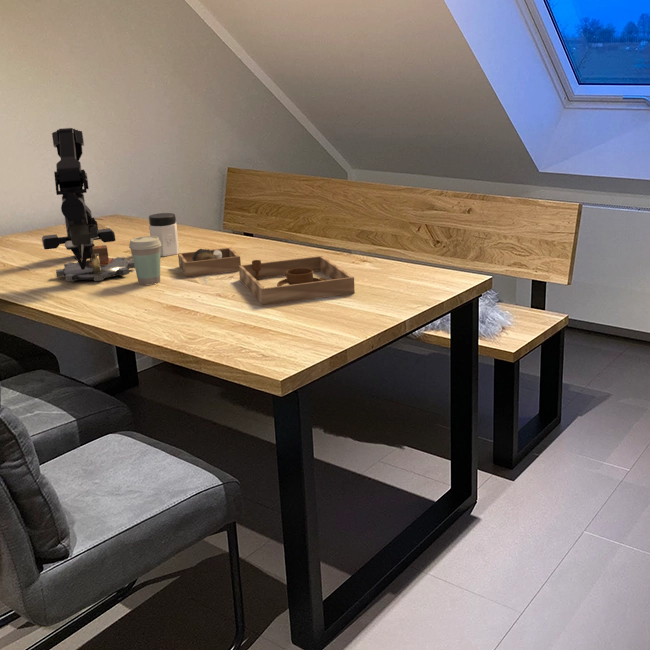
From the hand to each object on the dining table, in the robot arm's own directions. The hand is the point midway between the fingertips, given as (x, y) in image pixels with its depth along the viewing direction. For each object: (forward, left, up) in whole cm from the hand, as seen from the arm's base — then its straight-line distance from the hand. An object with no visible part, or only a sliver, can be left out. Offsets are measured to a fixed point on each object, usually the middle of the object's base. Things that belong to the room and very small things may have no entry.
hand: (83, 269), depth 220 cm
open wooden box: (+2, +35, -4) cm, 35 cm away
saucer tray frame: (+31, +52, -4) cm, 60 cm away
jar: (-24, +26, -4) cm, 35 cm away
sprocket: (-7, +4, -4) cm, 9 cm away
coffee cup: (+9, +17, -4) cm, 19 cm away
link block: (-12, +5, -1) cm, 13 cm away
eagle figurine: (+3, +34, -4) cm, 34 cm away
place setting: (+28, +52, -4) cm, 59 cm away
